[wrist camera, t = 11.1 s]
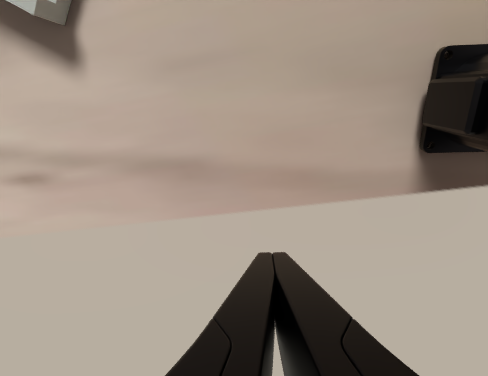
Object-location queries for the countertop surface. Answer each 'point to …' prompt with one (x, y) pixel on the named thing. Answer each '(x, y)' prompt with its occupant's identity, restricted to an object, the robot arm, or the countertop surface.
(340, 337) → the robot arm
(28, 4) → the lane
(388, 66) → the countertop surface
